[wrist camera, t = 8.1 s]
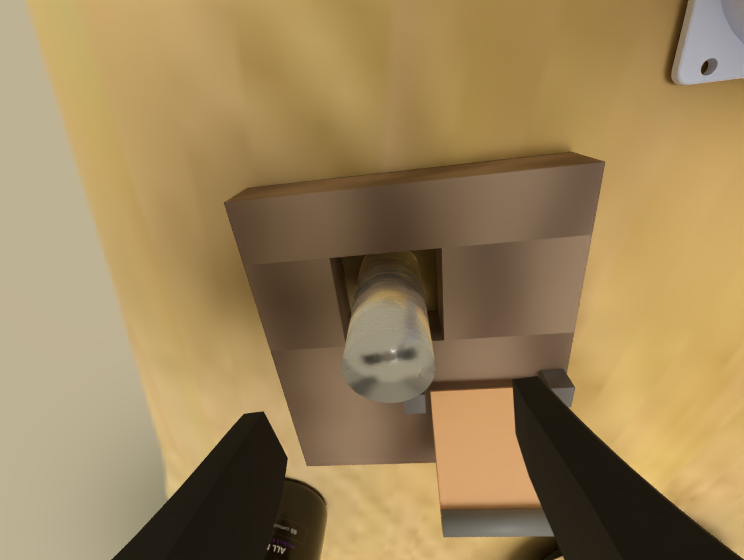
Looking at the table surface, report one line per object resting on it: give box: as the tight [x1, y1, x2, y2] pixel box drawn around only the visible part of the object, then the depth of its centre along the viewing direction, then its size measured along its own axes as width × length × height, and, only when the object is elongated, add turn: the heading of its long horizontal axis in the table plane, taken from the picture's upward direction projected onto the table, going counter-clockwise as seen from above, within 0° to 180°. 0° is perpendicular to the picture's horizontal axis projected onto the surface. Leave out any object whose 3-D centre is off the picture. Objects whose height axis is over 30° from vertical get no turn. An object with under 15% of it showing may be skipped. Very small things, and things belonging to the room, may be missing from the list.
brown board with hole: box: [224, 152, 605, 466], centre depth 17 cm, size 14×16×4 cm
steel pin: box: [342, 251, 436, 403], centre depth 14 cm, size 3×3×7 cm
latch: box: [430, 386, 554, 537], centre depth 16 cm, size 5×6×1 cm
